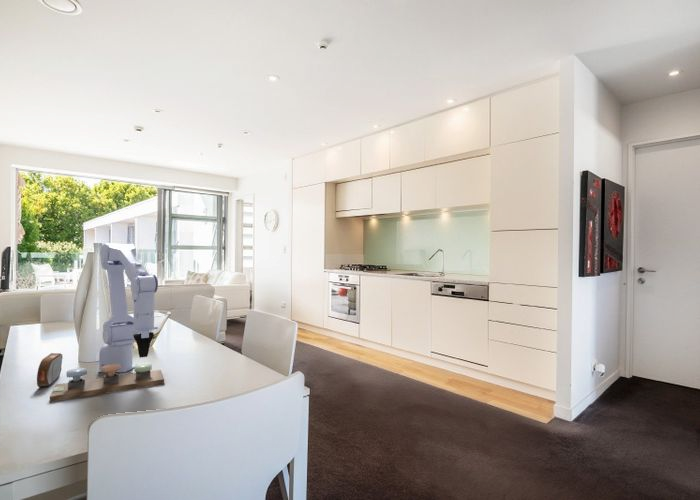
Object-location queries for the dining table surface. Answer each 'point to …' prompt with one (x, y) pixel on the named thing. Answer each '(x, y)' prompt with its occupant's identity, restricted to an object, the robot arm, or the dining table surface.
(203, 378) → the dining table surface
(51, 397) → the button board
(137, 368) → the sage button
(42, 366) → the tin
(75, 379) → the slate button
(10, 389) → the dining table surface
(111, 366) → the terracotta button
